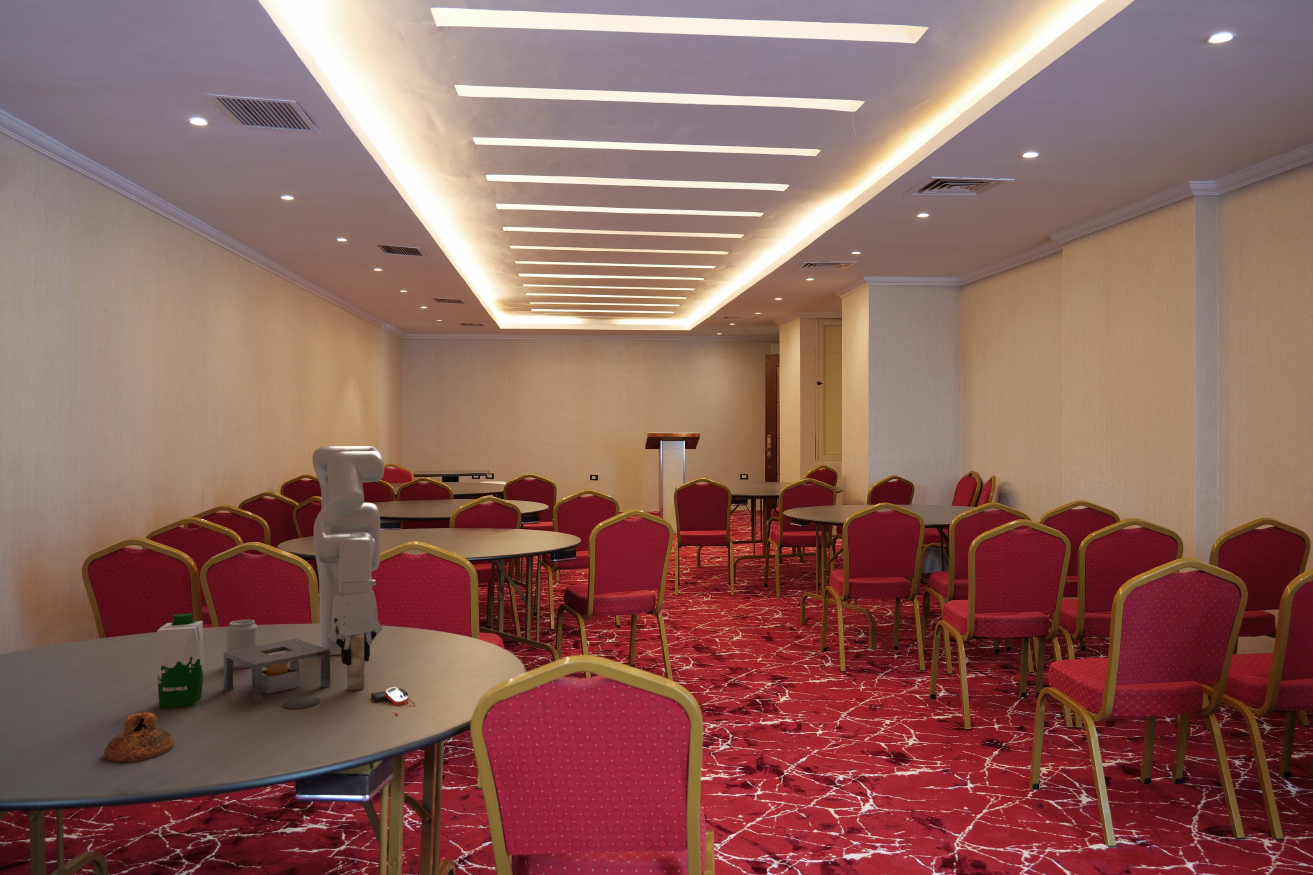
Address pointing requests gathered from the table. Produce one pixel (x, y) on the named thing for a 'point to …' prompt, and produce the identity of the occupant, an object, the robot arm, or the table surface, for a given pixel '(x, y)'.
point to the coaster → (300, 702)
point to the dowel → (356, 663)
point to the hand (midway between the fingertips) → (355, 661)
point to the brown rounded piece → (139, 740)
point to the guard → (260, 658)
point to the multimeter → (391, 696)
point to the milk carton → (180, 662)
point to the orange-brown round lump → (277, 669)
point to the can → (241, 637)
